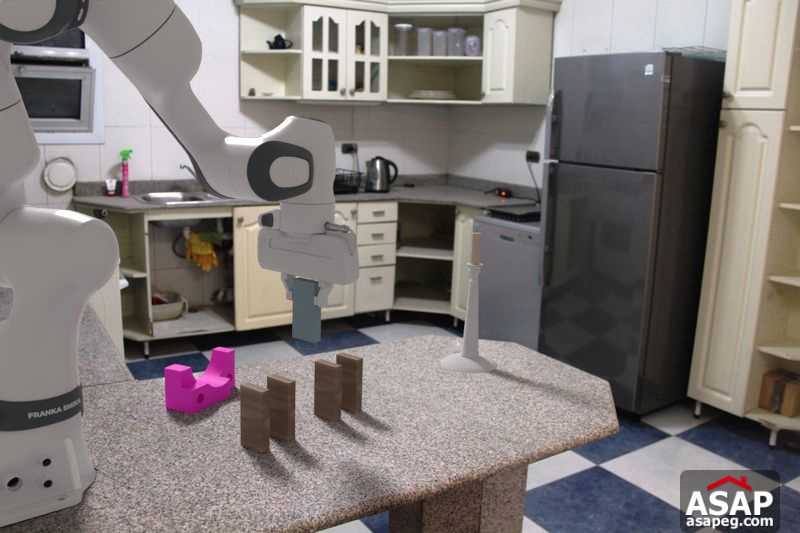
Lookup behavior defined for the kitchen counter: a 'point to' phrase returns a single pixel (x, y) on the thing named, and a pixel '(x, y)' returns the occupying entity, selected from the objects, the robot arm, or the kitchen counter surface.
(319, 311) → the domino
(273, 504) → the kitchen counter surface
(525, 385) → the kitchen counter surface
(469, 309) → the candlestick
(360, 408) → the domino
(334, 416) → the domino
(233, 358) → the toy block
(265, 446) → the domino
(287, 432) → the domino
